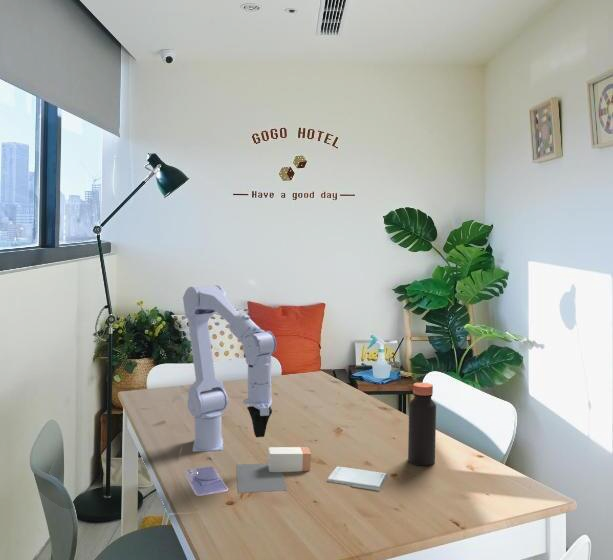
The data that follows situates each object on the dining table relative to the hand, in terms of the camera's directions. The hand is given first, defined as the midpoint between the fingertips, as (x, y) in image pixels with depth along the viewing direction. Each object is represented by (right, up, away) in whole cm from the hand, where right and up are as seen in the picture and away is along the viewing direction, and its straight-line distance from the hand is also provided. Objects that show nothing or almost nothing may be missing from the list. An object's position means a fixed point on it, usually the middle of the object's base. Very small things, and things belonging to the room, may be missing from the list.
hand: (259, 436), depth 137 cm
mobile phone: (-12, -9, -6) cm, 17 cm away
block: (+2, -6, 0) cm, 6 cm away
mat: (+1, -9, -4) cm, 10 cm away
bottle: (+41, -9, +7) cm, 43 cm away
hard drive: (+24, -10, -5) cm, 26 cm away
